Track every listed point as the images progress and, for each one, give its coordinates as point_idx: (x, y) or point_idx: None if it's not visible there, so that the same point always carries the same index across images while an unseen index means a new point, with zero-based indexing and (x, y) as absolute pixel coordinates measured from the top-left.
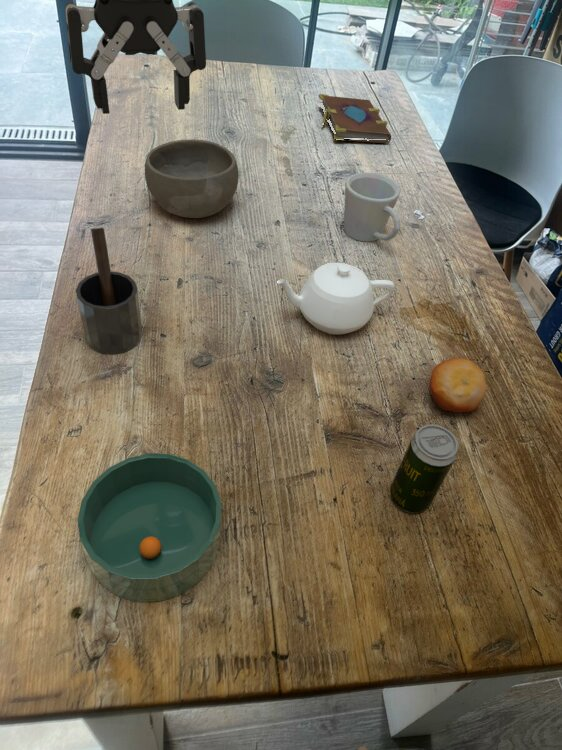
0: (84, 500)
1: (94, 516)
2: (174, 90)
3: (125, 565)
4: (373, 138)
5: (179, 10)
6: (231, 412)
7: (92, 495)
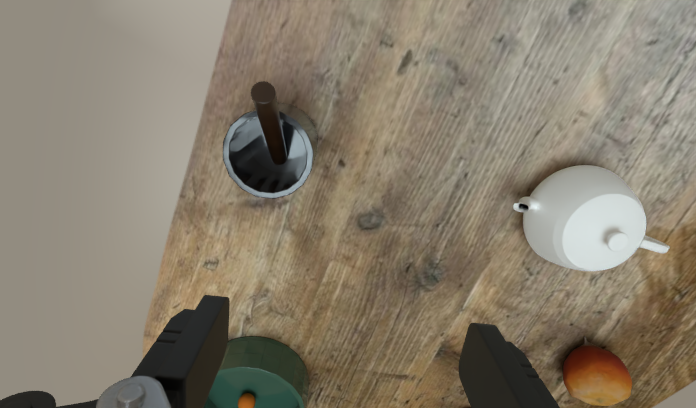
0: None
1: None
2: (487, 349)
3: (227, 398)
4: None
5: None
6: (367, 296)
7: None
